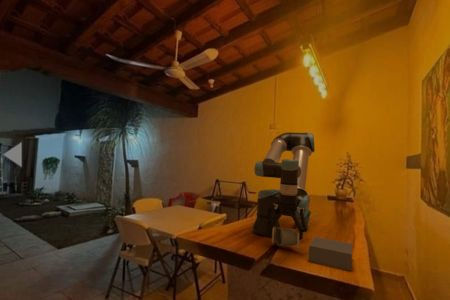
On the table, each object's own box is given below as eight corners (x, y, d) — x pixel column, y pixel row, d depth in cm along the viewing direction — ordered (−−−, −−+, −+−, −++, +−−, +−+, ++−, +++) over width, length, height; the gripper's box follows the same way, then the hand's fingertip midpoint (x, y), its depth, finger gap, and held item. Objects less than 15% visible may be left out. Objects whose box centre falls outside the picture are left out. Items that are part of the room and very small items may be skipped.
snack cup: (299, 223, 163) (300, 207, 164) (315, 227, 156) (316, 210, 156) (286, 226, 152) (287, 209, 153) (302, 230, 145) (303, 212, 145)
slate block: (308, 261, 99) (309, 245, 99) (313, 250, 112) (314, 236, 112) (351, 271, 92) (351, 254, 92) (351, 258, 105) (352, 243, 105)
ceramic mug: (299, 248, 108) (299, 230, 109) (281, 248, 106) (282, 230, 107) (287, 240, 119) (288, 223, 119) (271, 240, 117) (272, 223, 117)
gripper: (261, 191, 113) (258, 241, 113) (314, 198, 103) (311, 253, 102) (266, 190, 120) (263, 237, 119) (316, 196, 110) (313, 247, 109)
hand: (285, 244), depth 111 cm, fingers closed on ceramic mug, 10 cm apart
